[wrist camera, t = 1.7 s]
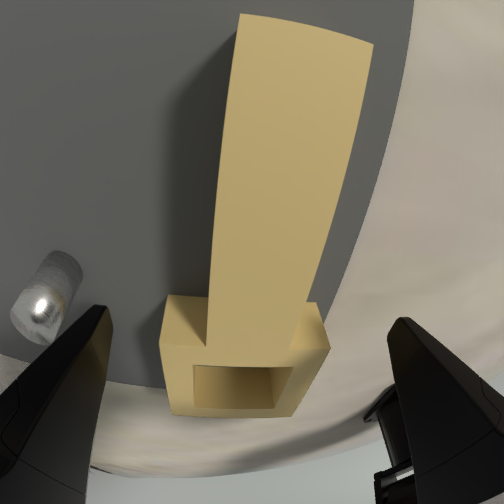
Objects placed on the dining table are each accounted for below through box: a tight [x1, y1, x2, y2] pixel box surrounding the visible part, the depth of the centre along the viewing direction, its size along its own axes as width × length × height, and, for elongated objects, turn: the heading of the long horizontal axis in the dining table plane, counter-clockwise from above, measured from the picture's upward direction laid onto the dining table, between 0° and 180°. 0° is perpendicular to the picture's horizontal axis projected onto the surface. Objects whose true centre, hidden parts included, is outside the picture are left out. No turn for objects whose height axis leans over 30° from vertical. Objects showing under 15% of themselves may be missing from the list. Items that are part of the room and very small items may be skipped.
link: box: [159, 13, 374, 418], centre depth 10 cm, size 16×6×3 cm, turn 172°
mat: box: [0, 0, 414, 389], centre depth 9 cm, size 24×25×1 cm
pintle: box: [10, 250, 83, 345], centre depth 9 cm, size 2×2×3 cm
